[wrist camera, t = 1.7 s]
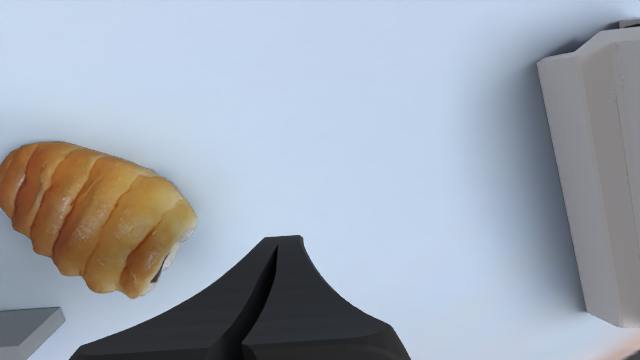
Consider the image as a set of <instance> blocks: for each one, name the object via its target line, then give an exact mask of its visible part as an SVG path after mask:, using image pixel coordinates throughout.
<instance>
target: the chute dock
mask: <svg viewBox="0 0 640 360" xmlns="http://www.w3.org/2000/svg"><path fill="white" fill-rule="evenodd" d="M64 322H65V319H64V316H63V314H62V311H61V308H60V307H56V308H42V309H27V310H13V311H0V360H27V359H28V358H29V357H30V356H31V355H32V354H33V353H34V352H35V351H36V350H37V349H38V348H39V347H40V346H41V345H42V344H43V343H44V342H45V341H46V340H47V339H48V338H49V337H50V336H51V335H52V334H53V333H54V332H55V331H56V330H57V329H58V328H59V327H60V326H61V325H62V324H63V323H64Z"/></svg>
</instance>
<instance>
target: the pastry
mask: <svg viewBox="0 0 640 360" xmlns="http://www.w3.org/2000/svg"><path fill="white" fill-rule="evenodd" d="M0 207H1V208H2V210H3V211H4V212H5V213H6V214H7V215H8V217H9V218H10V219H11V220H12V223H13V224H12V226H13V229H14V230H16V231H18V232H20V233H22V234H24V235H26V236H27V237H29V238H30V239H31V240H32V244H33V250H34V252H36V253H37V254H40V255H44V256H48V257H50V258H52V260H53V262H54V264H55V265H56V266H57V267H58V269H59V271H60V273H61V274H62V275H66V276H82V277H83V278H84V280H85V281H86V284H87V286H88V287H89V288H90V290H92V291H94V292H96V293H109V292H113V291H121V292H122V293H124V294H126V295H127V296H128V297H129V298H130V299H135V298H137V297H139V296H144V295H146V294H147V293H148V292H150V291H151V290H152V289H153V288H154V287H155V285H156V284H157V282H158V279H159V277H160V274H161V271H162V270H165V269H166V268H167V267H168V266H169V265H170V264H171V262H172V261H173V259H174V257H175V254H176V253H177V251H178V248H179V246H180V243H181V242H183V241H185V240H187V239H188V238H189V237H191V236H192V233H193V231H194V230H195V228H196V227H197V216H196V214H195V212H194V210H193V209H192V207H191V206H190V204H189V203H188V202H187V200H186V199H185V198H184V197H183V196H182V194H181V193H180V191H179V190H178V189H177V188H176V187H175V186H174V184H173V183H172V182H170V181H168V180H167V179H165V178H163V177H161V176H160V175H158V174H157V173H155V172H154V171H153V170H151V169H148V168H145V167H141V166H139V165H137V164H135V163H133V162H129V161H126V160H123V159H121V158H118V157H115V156H111V155H108V154H105V153H101V152H98V151H95V150H91V149H88V148H84V147H81V146H77V145H74V144H70V143H66V142H40V143H34V144H29V145H23V146H21V147H20V148H19V149H16V150H14V151H12V152H10V154H9V155H8V156H7V157H6V158H5V160H4V161H3V162H2V164H1V166H0Z"/></svg>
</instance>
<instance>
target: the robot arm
mask: <svg viewBox="0 0 640 360" xmlns="http://www.w3.org/2000/svg"><path fill="white" fill-rule="evenodd" d="M69 360H411V359H410V357H409V355H408V353H407V351H406V349H405V347H404V346H403V344H402V342H401V340H400V339H399V337H398V335H397V334H396V332H395V331H394V329H393V328H392V326H391V325H389V324H387V323H385V322H383V321H381V320H379V319H376V318H374V317H372V316H370V315H368V314H366V313H364V312H363V311H361V310H359V309H358V308H356V307H354V306H353V305H351V304H350V303H349V302H348V301H346V300H345V299H344V298H342V297H341V296H340V295H339V294H338V293H337V292H336V291H335V290H334V289H332V287H331V286H330V285H329V284H328V283H327V282H326V281H325V280H324V278H323V277H322V276H321V275H320V273H319V272H318V271H317V269H316V268H315V266H314V265H313V263H312V261H311V259H310V258H309V256H308V254H307V252H306V250H305V247H304V243H303V237H301V236H300V235H293V236H278V237H265V238H264V239H262V240H261V241H260V242H259V243H258V244H257V245H256V246H255V247H254V248H253V249H252V250H251V251H250V252H249V253H248V254H247V255H246V256H245V257H244V258H243V259H242V260H241V261H239V262H238V263H237V264H236V265H235V266H234V267H232V268H231V269H230V270H229V271H228V272H227V273H225V274H224V275H223V276H222V277H221V278H219V279H218V280H217V281H215V282H214V283H213V284H211V285H210V286H208V287H207V288H205V289H204V290H202V291H201V292H199V293H198V294H196V295H195V296H193V297H191V298H190V299H188V300H186V301H184V302H182V303H181V304H179V305H177V306H175V307H173V308H172V309H170V310H168V311H166V312H164V313H162V314H160V315H158V316H156V317H154V318H152V319H150V320H147V321H145V322H143V323H140V324H138V325H136V326H134V327H131V328H129V329H126V330H124V331H121V332H118V333H116V334H113V335H110V336H107V337H105V338H102V339H99V340H96V341H94V342H91V343H88V344H85V345H82V346H80V347H79V348H78V349H77V350H76V352H75V353H74V354H73V355H72V356H71V357H70V359H69Z"/></svg>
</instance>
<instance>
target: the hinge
mask: <svg viewBox="0 0 640 360" xmlns="http://www.w3.org/2000/svg"><path fill="white" fill-rule="evenodd" d="M619 27H620V29H612V30H603V31H599V32H598V33H597V34H596V35H594V36H593V37H592V38H591V39H589V40H588V41H587V42H586V43H585V44H583V45H582V46H581V47H580V48H579V49H577V50H576V51H575V52H570V53H565V54H560V55H554V56H549V57H545V58H543V59H542V60H540V61H538V62H537V63H536V64H537V69H538V74H539V79H540V84H541V89H542V93H543V98H544V103H545V108H546V113H547V118H548V123H549V128H550V133H551V138H552V143H553V148H554V153H555V158H556V162H557V167H558V172H559V177H560V182H561V187H562V192H563V197H564V202H565V207H566V212H567V217H568V222H569V226H570V231H571V236H572V241H573V246H574V251H575V256H576V261H577V266H578V271H579V276H580V281H581V286H582V291H583V295H584V300H585V305H586V310H587V312H588V313H590V314H592V315H594V316H596V317H598V318H600V319H602V320H604V321H606V322H608V323H610V324H613V325H615V326H617V327H621V328H640V17H639V18H633V19H627V20H622V21H619Z"/></svg>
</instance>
